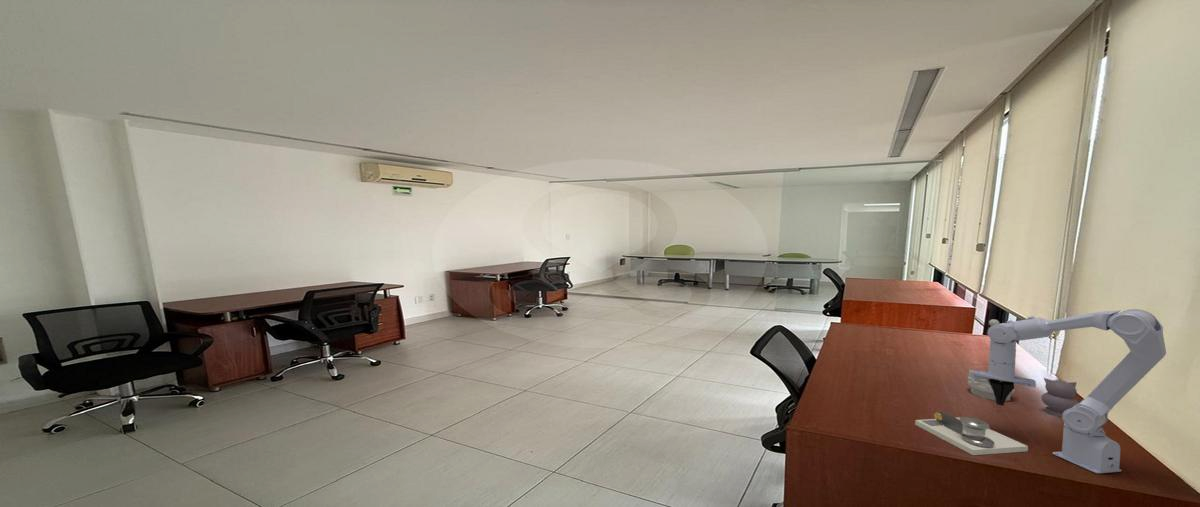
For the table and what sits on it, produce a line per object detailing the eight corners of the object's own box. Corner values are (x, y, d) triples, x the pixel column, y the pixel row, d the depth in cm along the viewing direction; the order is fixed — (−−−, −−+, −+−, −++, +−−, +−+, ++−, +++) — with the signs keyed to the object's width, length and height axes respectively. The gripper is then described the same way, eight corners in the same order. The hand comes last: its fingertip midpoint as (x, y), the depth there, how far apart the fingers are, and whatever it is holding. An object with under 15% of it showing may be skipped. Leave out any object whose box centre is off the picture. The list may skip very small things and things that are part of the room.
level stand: (1027, 451, 113) (1028, 445, 113) (973, 455, 111) (973, 449, 111) (963, 421, 131) (963, 416, 131) (915, 424, 129) (915, 419, 129)
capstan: (1001, 446, 112) (1002, 429, 112) (978, 447, 112) (979, 430, 112) (945, 419, 129) (946, 403, 129) (925, 420, 128) (926, 404, 128)
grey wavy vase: (1044, 415, 136) (1046, 381, 135) (1037, 407, 142) (1039, 374, 142) (1082, 422, 131) (1084, 387, 130) (1072, 413, 137) (1075, 379, 137)
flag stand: (978, 386, 161) (982, 314, 160) (1021, 399, 149) (1026, 321, 148) (959, 391, 157) (963, 317, 155) (1002, 404, 144) (1007, 324, 143)
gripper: (1031, 362, 121) (1028, 405, 122) (968, 354, 130) (966, 394, 131) (1039, 369, 116) (1036, 413, 116) (972, 359, 124) (970, 401, 125)
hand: (999, 404), depth 123 cm, fingers closed
